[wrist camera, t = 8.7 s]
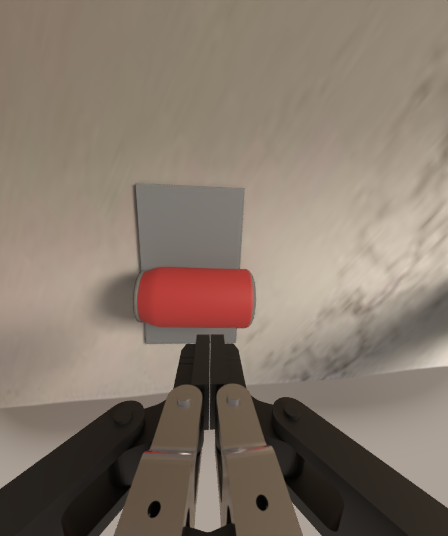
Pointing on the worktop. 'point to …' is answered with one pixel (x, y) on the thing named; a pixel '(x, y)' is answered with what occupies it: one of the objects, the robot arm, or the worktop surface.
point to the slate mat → (189, 239)
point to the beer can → (195, 297)
